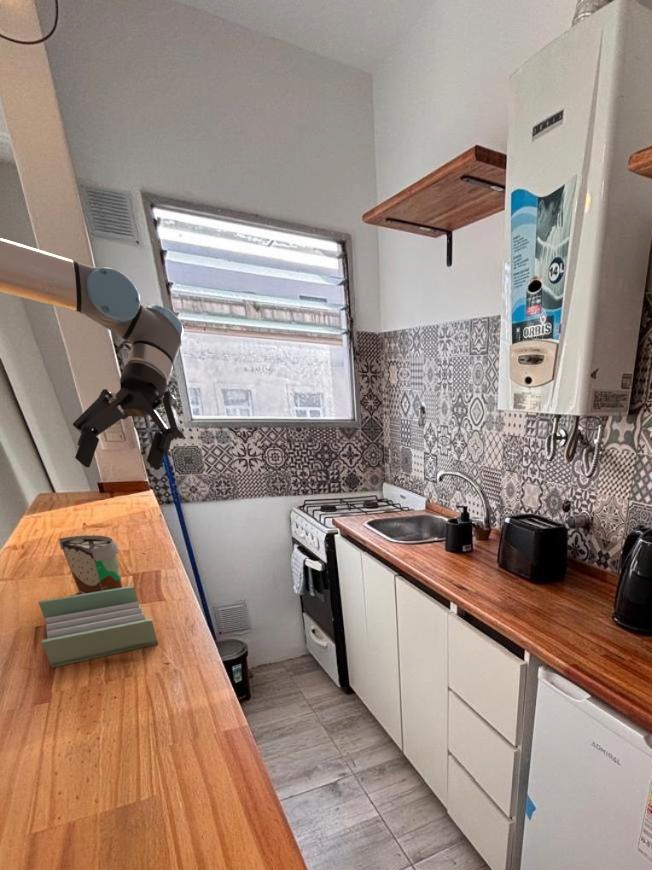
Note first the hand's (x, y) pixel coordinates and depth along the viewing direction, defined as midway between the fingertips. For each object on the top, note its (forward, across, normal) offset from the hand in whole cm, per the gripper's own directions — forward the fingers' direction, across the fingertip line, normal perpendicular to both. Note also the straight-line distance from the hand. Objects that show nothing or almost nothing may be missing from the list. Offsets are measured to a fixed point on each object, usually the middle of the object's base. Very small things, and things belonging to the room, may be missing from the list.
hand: (117, 464), depth 97 cm
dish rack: (+35, -10, +4) cm, 37 cm away
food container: (+23, 0, -8) cm, 24 cm away
